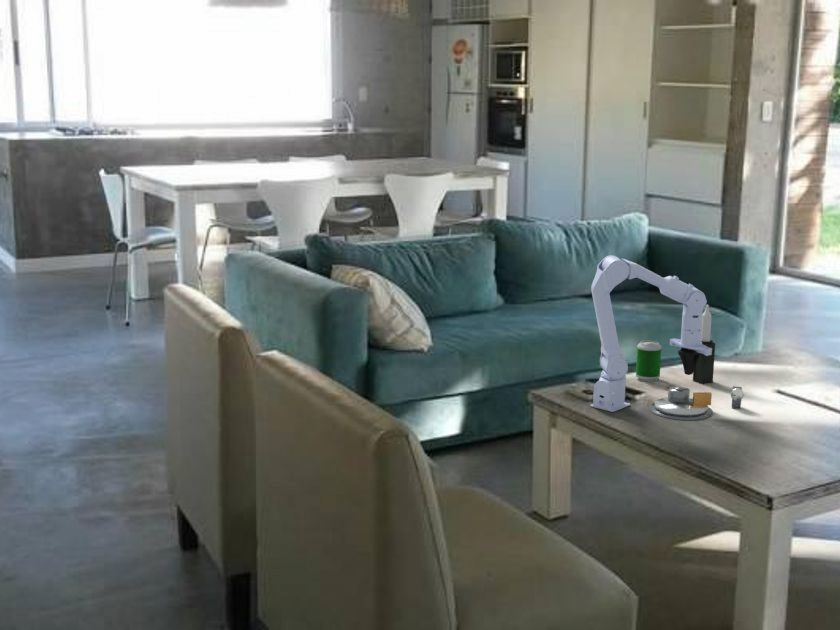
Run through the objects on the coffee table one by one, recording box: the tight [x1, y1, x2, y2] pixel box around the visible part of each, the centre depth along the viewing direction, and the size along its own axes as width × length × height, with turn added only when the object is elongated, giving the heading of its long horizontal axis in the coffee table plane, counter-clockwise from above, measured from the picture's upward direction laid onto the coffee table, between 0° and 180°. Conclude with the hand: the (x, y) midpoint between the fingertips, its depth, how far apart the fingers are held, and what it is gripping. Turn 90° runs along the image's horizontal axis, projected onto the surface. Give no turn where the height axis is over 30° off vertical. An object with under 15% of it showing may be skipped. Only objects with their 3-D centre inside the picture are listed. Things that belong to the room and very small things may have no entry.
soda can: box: [635, 340, 662, 383], centre depth 337 cm, size 8×8×12 cm
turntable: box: [654, 391, 713, 417], centre depth 306 cm, size 16×15×5 cm
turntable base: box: [648, 402, 714, 421], centre depth 306 cm, size 18×18×1 cm
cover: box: [667, 386, 690, 404], centre depth 309 cm, size 6×6×4 cm
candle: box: [692, 304, 716, 385], centre depth 333 cm, size 5×5×25 cm
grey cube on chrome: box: [730, 385, 745, 410], centre depth 308 cm, size 3×4×6 cm
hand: (688, 374), depth 310 cm, fingers closed
